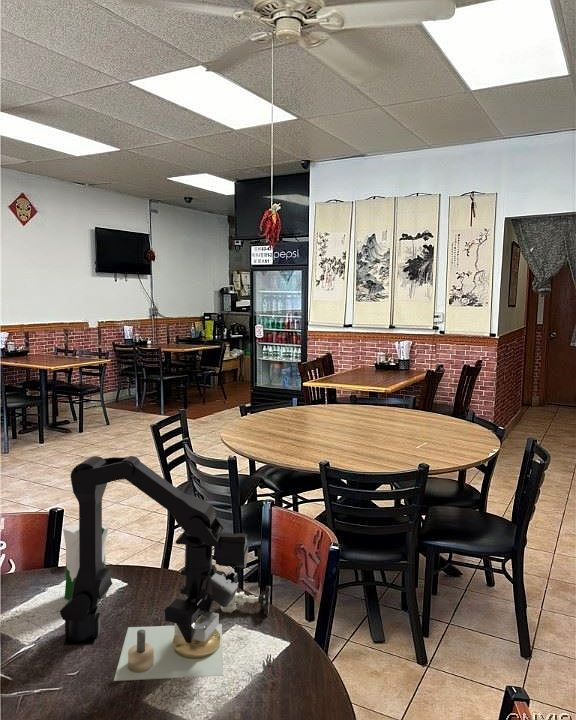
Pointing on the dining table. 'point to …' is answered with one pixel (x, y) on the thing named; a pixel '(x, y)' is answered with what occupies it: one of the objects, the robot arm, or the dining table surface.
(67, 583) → the milk carton
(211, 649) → the bell
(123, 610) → the dining table surface
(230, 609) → the valve
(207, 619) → the square ring
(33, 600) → the dining table surface
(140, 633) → the stand
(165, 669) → the mat
